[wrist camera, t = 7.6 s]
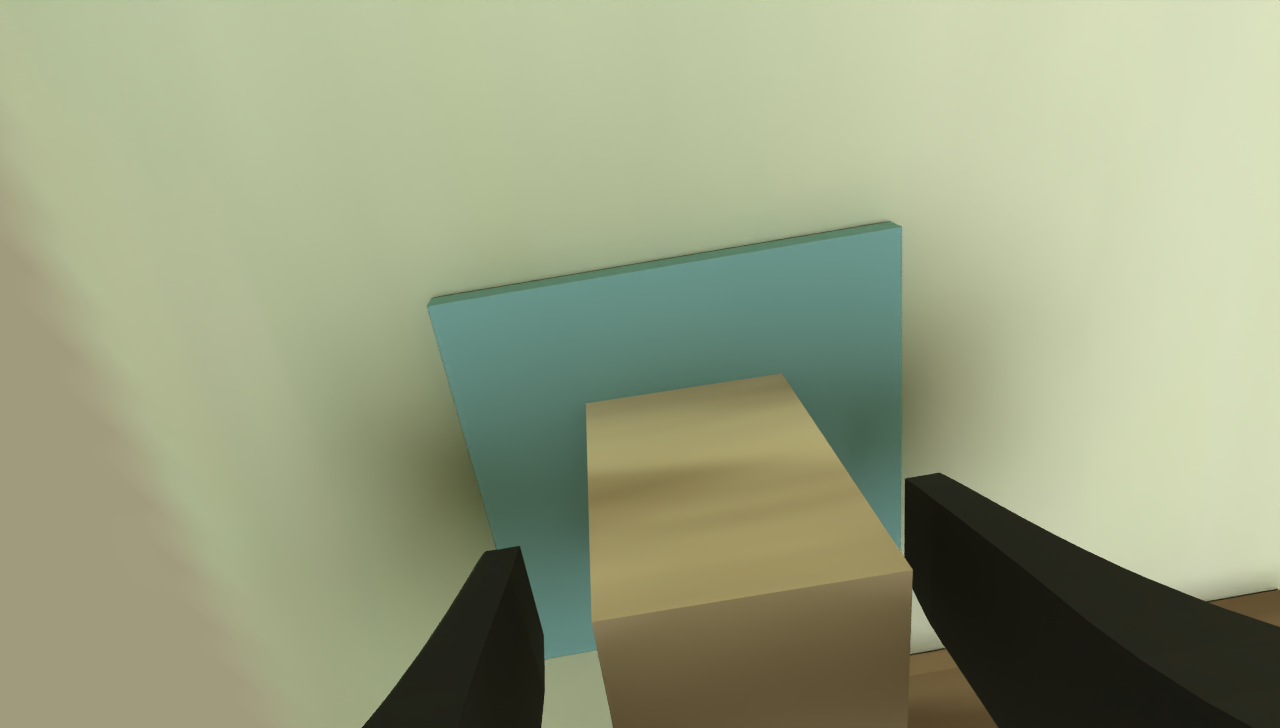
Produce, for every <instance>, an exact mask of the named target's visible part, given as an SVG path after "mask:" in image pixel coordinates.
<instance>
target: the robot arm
mask: <svg viewBox="0 0 1280 728" xmlns="http://www.w3.org/2000/svg"><path fill="white" fill-rule="evenodd" d="M904 558H905V559H906V561H907V562H908V564H909V565H910V567H911V568H912V570H913V578H912V589H913V591H914V593H915V595H916V597H917V599H918V601H919V603H920V605H921V607H922V609H923V611H924V613H925V615H926V617H927V619H928V621H929V623H930V625H931V626H932V628H933V629H934V631H935V632H936V634H937V636H938V637H939V639H940V640H941V642H942V643H943V645H944V646H945V648H946V649H947V651H948V652H949V654H950V656H951V657H952V659H953V660H954V662H955V663H956V665H957V666H958V668H959V669H960V671H961V672H962V674H963V675H964V677H965V678H966V680H967V681H968V683H969V684H970V686H971V687H972V689H973V690H974V692H975V693H976V695H977V696H978V698H979V699H980V701H981V702H982V704H983V705H984V707H985V708H986V710H987V711H988V713H989V714H990V716H991V717H992V719H993V721H994V722H995V724H996V725H997V727H998V728H1280V627H1279V626H1276V625H1273V624H1270V623H1267V622H1264V621H1261V620H1258V619H1255V618H1252V617H1249V616H1246V615H1243V614H1240V613H1237V612H1234V611H1231V610H1228V609H1225V608H1222V607H1220V606H1217V605H1214V604H1211V603H1209V602H1206V601H1203V600H1200V599H1198V598H1195V597H1192V596H1190V595H1188V594H1185V593H1183V592H1180V591H1178V590H1175V589H1173V588H1170V587H1168V586H1165V585H1163V584H1160V583H1158V582H1155V581H1153V580H1150V579H1148V578H1145V577H1143V576H1141V575H1138V574H1136V573H1134V572H1131V571H1129V570H1127V569H1125V568H1122V567H1120V566H1118V565H1116V564H1114V563H1112V562H1110V561H1107V560H1105V559H1103V558H1101V557H1099V556H1097V555H1095V554H1093V553H1091V552H1088V551H1086V550H1084V549H1082V548H1080V547H1078V546H1076V545H1074V544H1072V543H1070V542H1068V541H1066V540H1064V539H1062V538H1060V537H1058V536H1056V535H1054V534H1052V533H1050V532H1048V531H1047V530H1045V529H1043V528H1041V527H1039V526H1037V525H1035V524H1033V523H1031V522H1030V521H1028V520H1026V519H1024V518H1022V517H1020V516H1019V515H1017V514H1015V513H1013V512H1011V511H1009V510H1008V509H1006V508H1004V507H1002V506H1000V505H999V504H997V503H995V502H993V501H991V500H990V499H988V498H986V497H984V496H982V495H981V494H979V493H977V492H975V491H973V490H972V489H970V488H968V487H966V486H964V485H962V484H961V483H959V482H957V481H955V480H953V479H951V478H949V477H947V476H945V475H943V474H941V473H935V474H929V475H923V476H917V477H912V478H906V479H905V557H904ZM544 693H545V665H544V633H543V630H542V626H541V622H540V619H539V615H538V611H537V607H536V604H535V600H534V596H533V593H532V589H531V585H530V581H529V578H528V574H527V570H526V567H525V563H524V559H523V555H522V552H521V548H520V546H515V547H509V548H503V549H498V550H492V551H486V552H484V554H483V555H482V556H481V558H480V559H479V561H478V562H477V564H476V566H475V567H474V569H473V571H472V572H471V574H470V576H469V577H468V579H467V581H466V582H465V584H464V586H463V587H462V589H461V590H460V592H459V594H458V595H457V597H456V598H455V600H454V602H453V603H452V605H451V606H450V608H449V610H448V611H447V613H446V614H445V616H444V617H443V619H442V620H441V622H440V623H439V625H438V626H437V628H436V629H435V631H434V632H433V634H432V635H431V637H430V638H429V640H428V641H427V643H426V644H425V646H424V647H423V649H422V650H421V652H420V653H419V655H418V656H417V657H416V659H415V660H414V661H413V663H412V664H411V665H410V667H409V668H408V669H407V671H406V672H405V674H404V675H403V676H402V678H401V679H400V680H399V682H398V683H397V684H396V686H395V687H394V688H393V690H392V691H391V692H390V694H389V695H388V696H387V698H386V699H385V700H384V701H383V703H382V704H381V705H380V706H379V708H378V709H377V710H376V711H375V713H374V714H373V715H372V716H371V717H370V719H369V720H368V721H367V722H366V723H365V725H364V726H363V727H362V728H541V723H542V714H543V704H544Z"/></svg>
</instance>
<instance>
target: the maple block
mask: <svg viewBox="0 0 1280 728" xmlns="http://www.w3.org/2000/svg"><path fill="white" fill-rule="evenodd" d="M586 431H587V469H588V507H589V545H590V582H591V620H592V627H593V632H594V636H595V641H596V646H597V651H598V656H599V661H600V665H601V670H602V675H603V680H604V685H605V690H606V694H607V699H608V704H609V709H610V714H611V719H612V723H613V728H907V722H908V693H909V664H910V636H911V607H912V578H913V570H912V568H911V567H910V565H909V564H908V562H907V561H906V559H905V558H904V556H903V555H902V553H901V552H900V550H899V549H898V547H897V546H896V544H895V542H894V541H893V539H892V538H891V536H890V535H889V533H888V532H887V530H886V529H885V527H884V526H883V524H882V523H881V521H880V520H879V518H878V517H877V515H876V514H875V512H874V511H873V509H872V508H871V506H870V505H869V503H868V502H867V500H866V499H865V497H864V496H863V494H862V493H861V491H860V490H859V488H858V487H857V485H856V484H855V482H854V481H853V479H852V478H851V476H850V475H849V473H848V472H847V470H846V469H845V467H844V466H843V464H842V463H841V461H840V460H839V458H838V457H837V455H836V454H835V452H834V451H833V449H832V448H831V446H830V445H829V443H828V442H827V440H826V439H825V437H824V436H823V434H822V433H821V431H820V430H819V428H818V427H817V425H816V424H815V422H814V421H813V419H812V418H811V416H810V415H809V413H808V412H807V410H806V409H805V407H804V406H803V404H802V403H801V401H800V400H799V398H798V397H797V395H796V394H795V392H794V391H793V389H792V388H791V386H790V385H789V383H788V382H787V380H786V379H785V377H784V376H783V374H782V373H780V374H773V375H767V376H760V377H754V378H748V379H741V380H735V381H728V382H722V383H715V384H709V385H702V386H696V387H689V388H683V389H676V390H670V391H663V392H657V393H650V394H644V395H637V396H631V397H625V398H618V399H612V400H605V401H599V402H592V403H586Z"/></svg>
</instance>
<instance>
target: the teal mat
mask: <svg viewBox="0 0 1280 728" xmlns="http://www.w3.org/2000/svg"><path fill="white" fill-rule="evenodd" d="M901 288H902V227H901V226H899V225H897V224H895V223H893V222H885V223H879V224H873V225H867V226H861V227H855V228H849V229H843V230H837V231H831V232H825V233H819V234H813V235H807V236H801V237H795V238H789V239H783V240H777V241H771V242H765V243H759V244H753V245H747V246H741V247H735V248H729V249H723V250H717V251H711V252H705V253H699V254H693V255H687V256H681V257H675V258H669V259H663V260H657V261H651V262H645V263H639V264H633V265H627V266H621V267H615V268H609V269H603V270H598V271H592V272H586V273H580V274H574V275H568V276H562V277H556V278H550V279H544V280H538V281H532V282H526V283H520V284H514V285H508V286H502V287H496V288H490V289H484V290H478V291H472V292H466V293H460V294H454V295H448V296H442V297H436V298H432V299H431V301H430V302H429V304H428V305H427V308H428V312H429V315H430V319H431V322H432V326H433V329H434V333H435V336H436V340H437V343H438V347H439V350H440V354H441V357H442V361H443V364H444V368H445V371H446V375H447V378H448V382H449V385H450V389H451V392H452V396H453V399H454V403H455V406H456V410H457V413H458V417H459V420H460V424H461V427H462V431H463V434H464V438H465V441H466V445H467V448H468V452H469V455H470V459H471V462H472V465H473V469H474V472H475V476H476V479H477V483H478V486H479V490H480V493H481V497H482V500H483V504H484V507H485V511H486V514H487V518H488V521H489V525H490V528H491V532H492V535H493V539H494V542H495V546H496V549H497V550H498V549H503V548H509V547H515V546H520V548H521V552H522V555H523V559H524V563H525V567H526V570H527V574H528V578H529V581H530V585H531V589H532V593H533V596H534V600H535V604H536V607H537V611H538V615H539V619H540V622H541V626H542V630H543V633H544V659H549V658H555V657H560V656H566V655H572V654H577V653H583V652H589V651H594V650H597V646H596V641H595V636H594V632H593V627H592V620H591V582H590V545H589V507H588V469H587V431H586V403H592V402H599V401H605V400H612V399H618V398H625V397H631V396H637V395H644V394H650V393H657V392H663V391H670V390H676V389H683V388H689V387H696V386H702V385H709V384H715V383H722V382H728V381H735V380H741V379H748V378H754V377H760V376H767V375H773V374H780V373H782V374H783V376H784V377H785V379H786V380H787V382H788V383H789V385H790V386H791V388H792V389H793V391H794V392H795V394H796V395H797V397H798V398H799V400H800V401H801V403H802V404H803V406H804V407H805V409H806V410H807V412H808V413H809V415H810V416H811V418H812V419H813V421H814V422H815V424H816V425H817V427H818V428H819V430H820V431H821V433H822V434H823V436H824V437H825V439H826V440H827V442H828V443H829V445H830V446H831V448H832V449H833V451H834V452H835V454H836V455H837V457H838V458H839V460H840V461H841V463H842V464H843V466H844V467H845V469H846V470H847V472H848V473H849V475H850V476H851V478H852V479H853V481H854V482H855V484H856V485H857V487H858V488H859V490H860V491H861V493H862V494H863V496H864V497H865V499H866V500H867V502H868V503H869V505H870V506H871V508H872V509H873V511H874V512H875V514H876V515H877V517H878V518H879V520H880V521H881V523H882V524H883V526H884V527H885V529H886V530H887V532H888V533H889V535H890V536H891V538H892V539H893V541H894V542H895V544H896V546H897V547H898V549H899V550H900V535H901Z"/></svg>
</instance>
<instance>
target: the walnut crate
mask: <svg viewBox="0 0 1280 728" xmlns="http://www.w3.org/2000/svg"><path fill="white" fill-rule="evenodd" d="M1209 603H1211V604H1214V605H1217V606H1220V607H1222V608H1225V609H1228V610H1231V611H1234V612H1237V613H1240V614H1243V615H1246V616H1249V617H1252V618H1255V619H1258V620H1261V621H1264V622H1267V623H1270V624H1273V625H1276V626H1279V627H1280V590H1275V591H1269V592H1263V593H1258V594H1252V595H1247V596H1241V597H1235V598H1230V599H1224V600H1219V601H1213V602H1209ZM907 728H998V727H997V725H996V724H995V722H994V721H993V719H992V717H991V716H990V714H989V713H988V711H987V710H986V708H985V707H984V705H983V704H982V702H981V701H980V699H979V698H978V696H977V695H976V693H975V692H974V690H973V689H972V687H971V686H970V684H969V683H968V681H967V680H966V678H965V677H964V675H963V674H962V672H961V671H960V669H959V668H958V666H957V665H956V663H955V662H954V660H953V659H952V657H951V656H950V654H949V652H948V651H947V649H944V650H939V651H933V652H927V653H922V654H916V655H911V656H910V664H909V693H908V722H907Z"/></svg>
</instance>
